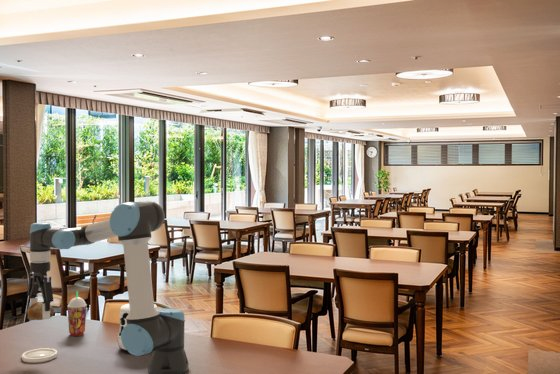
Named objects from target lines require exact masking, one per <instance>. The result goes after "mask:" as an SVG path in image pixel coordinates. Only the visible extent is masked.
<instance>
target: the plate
mask: <svg viewBox="0 0 560 374" xmlns="http://www.w3.org/2000/svg"><path fill="white" fill-rule="evenodd" d="M57 357H58V350H57V349H55V348H48V347H43V348H35V349H30V350H27V351H24V352H22V355H21V361H23V362H25V363H31V364H35V363H36V364H38V363H44V362H45V363H46V362H49V361H52V360H54V359H56V358H57Z"/></svg>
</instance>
